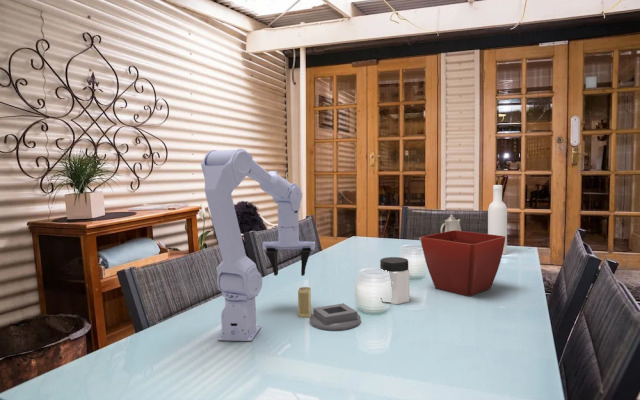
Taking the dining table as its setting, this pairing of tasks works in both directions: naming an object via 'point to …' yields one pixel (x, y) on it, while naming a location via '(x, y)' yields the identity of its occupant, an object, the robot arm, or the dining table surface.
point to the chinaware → (450, 225)
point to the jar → (397, 278)
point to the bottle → (498, 216)
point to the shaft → (304, 302)
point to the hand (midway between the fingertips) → (289, 274)
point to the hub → (335, 318)
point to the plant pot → (463, 260)
